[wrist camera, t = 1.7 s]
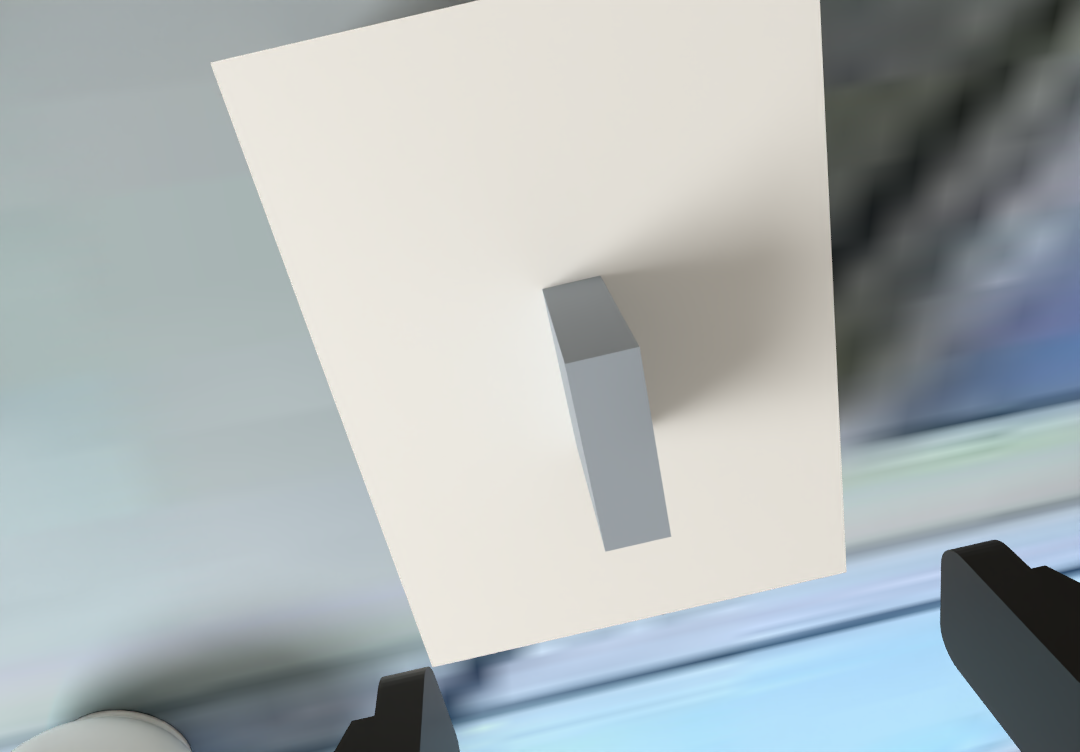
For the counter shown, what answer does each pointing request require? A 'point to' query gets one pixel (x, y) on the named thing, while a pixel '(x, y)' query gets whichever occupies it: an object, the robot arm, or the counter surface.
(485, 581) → the lid
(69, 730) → the lidded jar
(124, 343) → the counter surface
